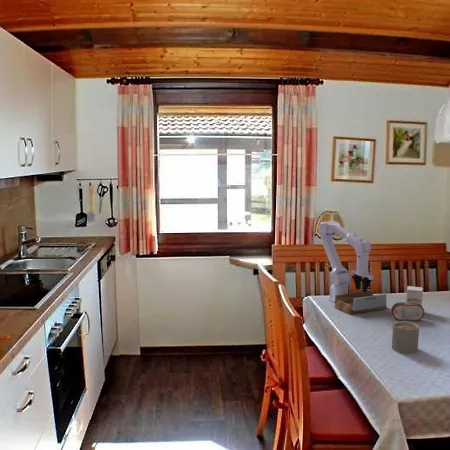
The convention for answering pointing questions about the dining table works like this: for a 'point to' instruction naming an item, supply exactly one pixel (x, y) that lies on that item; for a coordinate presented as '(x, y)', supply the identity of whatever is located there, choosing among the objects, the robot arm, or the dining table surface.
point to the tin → (407, 311)
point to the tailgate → (369, 302)
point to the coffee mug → (405, 337)
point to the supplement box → (414, 295)
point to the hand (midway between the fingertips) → (361, 290)
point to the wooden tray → (346, 301)
